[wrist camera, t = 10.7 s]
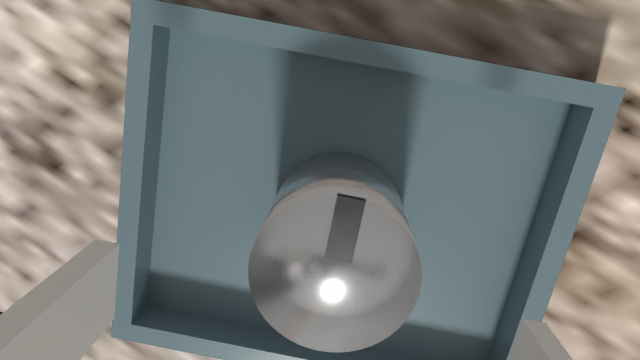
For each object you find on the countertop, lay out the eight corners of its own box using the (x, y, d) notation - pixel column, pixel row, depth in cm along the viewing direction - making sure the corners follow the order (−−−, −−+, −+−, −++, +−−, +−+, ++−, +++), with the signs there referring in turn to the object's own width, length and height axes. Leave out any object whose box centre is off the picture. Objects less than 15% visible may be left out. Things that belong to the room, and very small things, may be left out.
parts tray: (133, 310, 28) (111, 337, 25) (156, 0, 23) (131, -5, 20) (493, 382, 27) (507, 416, 25) (595, 83, 22) (626, 88, 20)
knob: (266, 257, 25) (235, 338, 18) (286, 140, 24) (260, 180, 17) (386, 280, 25) (399, 371, 18) (415, 165, 23) (442, 216, 17)
